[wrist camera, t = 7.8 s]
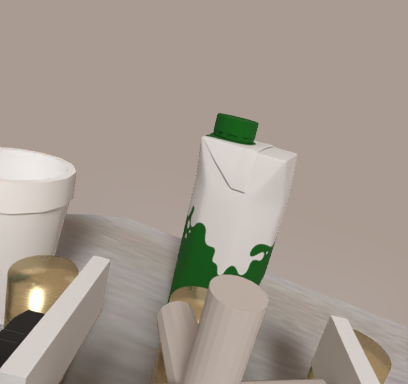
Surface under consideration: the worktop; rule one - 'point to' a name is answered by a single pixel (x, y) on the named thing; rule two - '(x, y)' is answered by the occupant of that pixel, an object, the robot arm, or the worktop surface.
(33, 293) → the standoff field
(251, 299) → the pipe connector
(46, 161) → the foam cup
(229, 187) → the milk carton
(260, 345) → the worktop surface
